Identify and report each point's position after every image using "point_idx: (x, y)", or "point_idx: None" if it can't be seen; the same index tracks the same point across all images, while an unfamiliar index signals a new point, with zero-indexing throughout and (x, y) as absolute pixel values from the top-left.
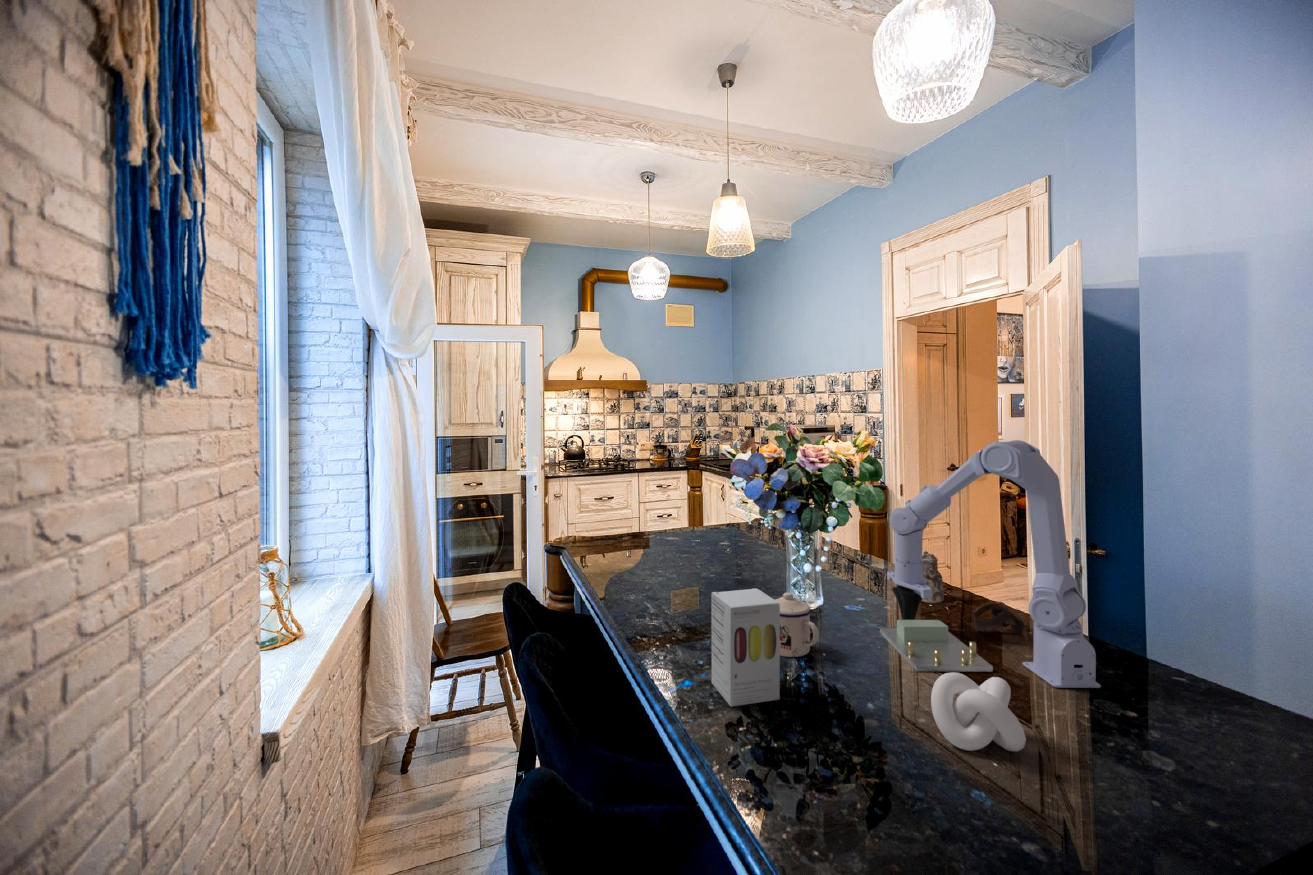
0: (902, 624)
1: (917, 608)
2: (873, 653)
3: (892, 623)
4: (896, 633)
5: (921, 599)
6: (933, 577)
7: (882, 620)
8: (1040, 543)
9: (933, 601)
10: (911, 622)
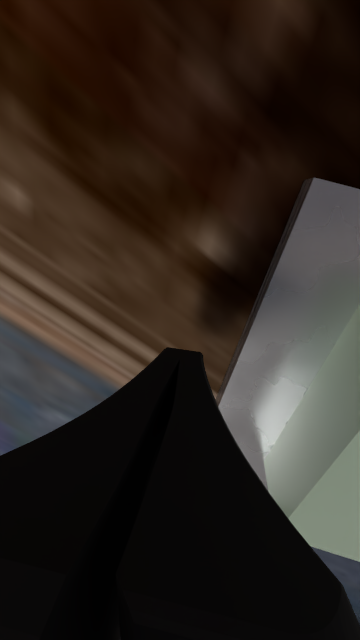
0: (348, 555)
1: (219, 411)
2: (336, 557)
3: (102, 357)
4: (263, 462)
5: (276, 513)
6: None
7: (64, 371)
8: None
9: None
10: (352, 513)
